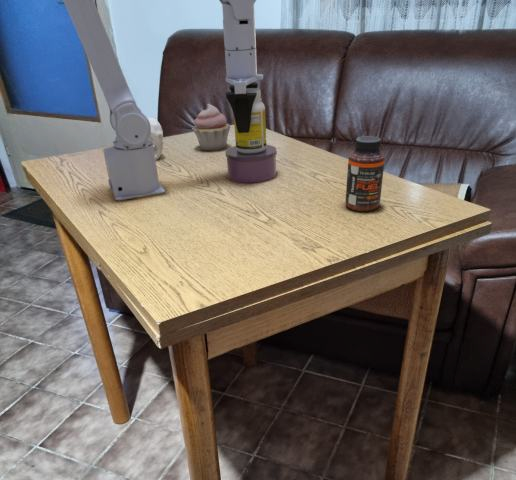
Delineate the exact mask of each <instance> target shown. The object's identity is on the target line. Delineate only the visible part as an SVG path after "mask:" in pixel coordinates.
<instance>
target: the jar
mask: <svg viewBox="0 0 516 480" xmlns="http://www.w3.org/2000/svg"><path fill="white" fill-rule="evenodd" d="M277 152H278V151H277V148H276V147H275V146H274V145H271V144H266V149H265V150H264V151H262V152H259V153H254V154H245V153H241V152H238V151H237V149H236V145H234V146H231V147H228V148H227V149H226V150H225V157H226V164H227V165H226V167H227V178H228V179H229V180H231V181H232V182H237V183H242V184H243V183H244V184H253V183H261V182H267V181H269V180H272V179H274V178H275V177H276V176H277Z"/></svg>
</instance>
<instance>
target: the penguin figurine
mask: <svg viewBox="0 0 516 480" xmlns="http://www.w3.org/2000/svg"><path fill="white" fill-rule="evenodd" d="M147 118H148V120H149V122H150V126H151V134H150V137H149V138H151V139H152V143H153V148H154V154H155V161H157V160H159V159H160V157H161V155H162V153H163V149H164V131H163V127H162V125H161V124H160V122H159V121H158V119H156V118H155V117H147Z"/></svg>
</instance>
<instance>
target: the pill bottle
mask: <svg viewBox="0 0 516 480" xmlns="http://www.w3.org/2000/svg"><path fill="white" fill-rule="evenodd" d="M246 91H247V93H257V95H256V98H255V100H254V103H253V107H252V112H251V123H250V130H249V133H238V130H237V127H236V123H235V118H234V117H233V123H234V135H235V136H234V137H235V138H234V139H235V146H236V149H237V151H238V152H241V153H245V154H254V153H259V152H262V151H264V150H265V149H266V145H267V123H266V122H267V121H266V106H265V104H264V102H263V101H262V102H263V103H262V102H260V98H261V99H262V97H261V96H262V95H261V94H262V93H261V91H262V90H261V89H260V88H258V87H257V88H246Z"/></svg>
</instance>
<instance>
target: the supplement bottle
mask: <svg viewBox="0 0 516 480" xmlns="http://www.w3.org/2000/svg"><path fill="white" fill-rule="evenodd" d="M381 141H382V139H381V138H380V137H378V136H372V135H364V136H358V137H357V138H356V139H355V145H354V147H355V148H354V149H353V150H352V151H351V152H350V153H349V155H348V161H347V173H346V175H347V176H346V190H345V206H346V207H347V208H348V209H350V210H352V211H357V212H370V211H374V210H377V209H378V208H379V206H380V205H381V197H382V188H383V180H384V179H383V178H384V171H385V170H384V169H385V158H386V157H385V154H384V152H383V151H381V149H380V147H381V143H382V142H381Z"/></svg>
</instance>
